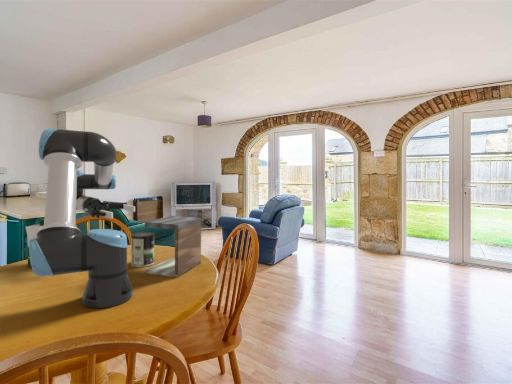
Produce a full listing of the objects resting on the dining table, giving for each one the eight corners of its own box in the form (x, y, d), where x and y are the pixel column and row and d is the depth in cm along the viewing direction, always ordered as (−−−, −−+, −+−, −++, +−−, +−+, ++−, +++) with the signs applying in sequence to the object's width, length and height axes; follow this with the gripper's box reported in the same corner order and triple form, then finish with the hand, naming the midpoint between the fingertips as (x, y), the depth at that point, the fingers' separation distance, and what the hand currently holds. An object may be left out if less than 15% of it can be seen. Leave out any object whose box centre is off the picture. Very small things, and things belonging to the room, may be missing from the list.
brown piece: (145, 272, 121) (145, 222, 120) (171, 259, 140) (171, 215, 139) (177, 277, 116) (178, 224, 115) (200, 263, 136) (201, 217, 134)
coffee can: (154, 259, 140) (154, 231, 139) (154, 266, 130) (154, 235, 129) (131, 261, 136) (131, 232, 135) (130, 268, 126) (130, 237, 125)
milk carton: (58, 263, 130) (57, 220, 129) (37, 269, 122) (36, 223, 120) (44, 261, 133) (43, 219, 132) (23, 266, 124) (22, 222, 123)
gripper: (110, 206, 150) (142, 214, 144) (65, 218, 127) (101, 227, 120) (110, 193, 149) (143, 199, 142) (64, 201, 125) (101, 210, 119)
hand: (124, 212), depth 131 cm, fingers open, 13 cm apart
